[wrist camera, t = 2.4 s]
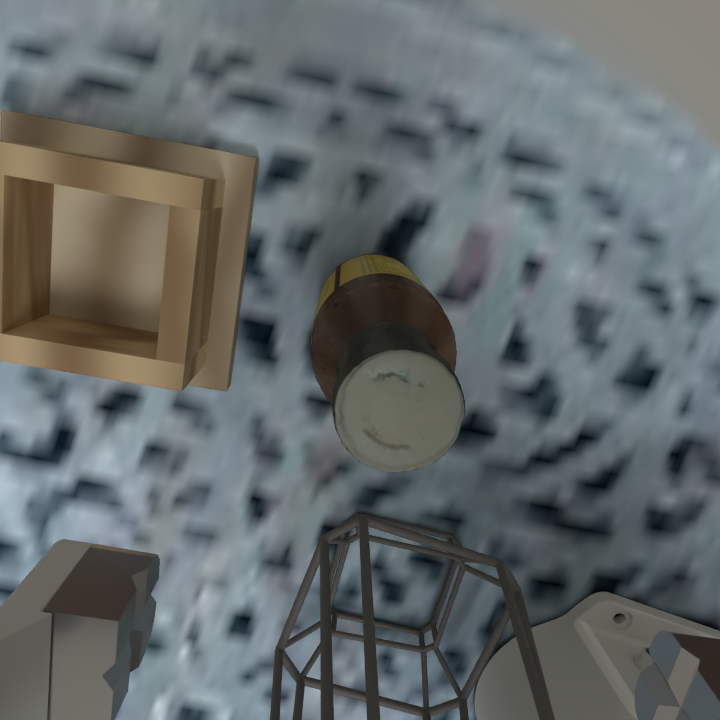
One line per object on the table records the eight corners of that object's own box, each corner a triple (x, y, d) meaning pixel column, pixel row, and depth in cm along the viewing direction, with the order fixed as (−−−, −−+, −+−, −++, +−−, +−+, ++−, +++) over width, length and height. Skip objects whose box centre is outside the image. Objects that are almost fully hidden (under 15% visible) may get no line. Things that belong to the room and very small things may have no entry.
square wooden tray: (259, 158, 35) (238, 152, 29) (230, 385, 39) (206, 421, 33) (13, 112, 34) (-61, 96, 28) (8, 347, 38) (-57, 378, 32)
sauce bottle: (361, 369, 38) (363, 551, 19) (300, 290, 37) (237, 402, 18) (445, 310, 37) (535, 441, 18) (386, 226, 36) (416, 274, 17)
